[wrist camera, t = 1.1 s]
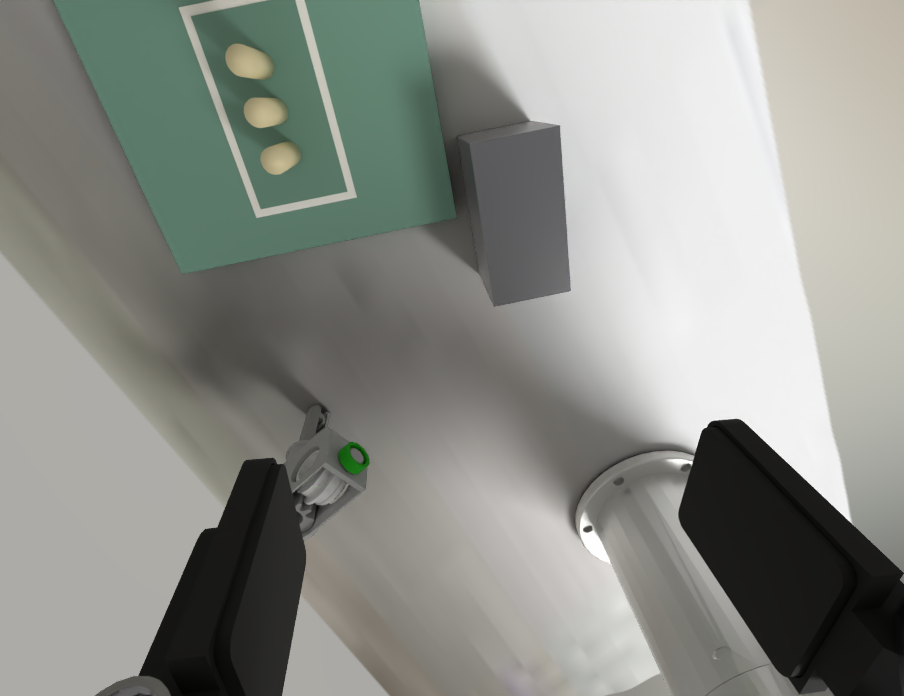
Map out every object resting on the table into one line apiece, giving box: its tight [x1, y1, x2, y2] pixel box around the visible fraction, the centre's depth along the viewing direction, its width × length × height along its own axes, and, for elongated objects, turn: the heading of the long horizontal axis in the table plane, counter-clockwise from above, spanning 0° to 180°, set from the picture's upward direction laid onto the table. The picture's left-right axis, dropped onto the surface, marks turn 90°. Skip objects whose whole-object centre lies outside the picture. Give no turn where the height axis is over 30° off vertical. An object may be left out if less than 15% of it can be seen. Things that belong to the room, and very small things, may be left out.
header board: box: [53, 0, 457, 274], centre depth 23 cm, size 16×14×5 cm
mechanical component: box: [284, 405, 369, 541], centre depth 30 cm, size 3×10×10 cm, turn 133°
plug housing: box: [457, 121, 571, 307], centre depth 26 cm, size 4×8×6 cm, turn 10°
